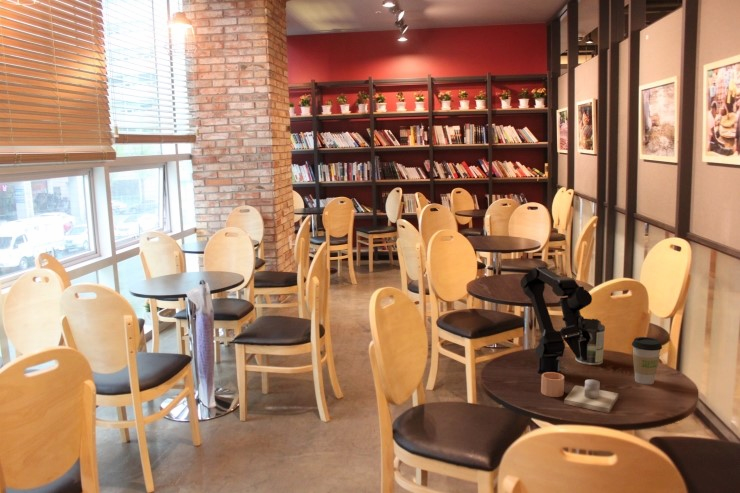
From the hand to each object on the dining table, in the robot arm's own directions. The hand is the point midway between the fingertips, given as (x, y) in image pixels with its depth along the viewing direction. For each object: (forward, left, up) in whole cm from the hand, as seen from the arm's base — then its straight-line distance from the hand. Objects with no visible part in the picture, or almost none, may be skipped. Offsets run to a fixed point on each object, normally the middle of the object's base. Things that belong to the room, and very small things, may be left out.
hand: (582, 359), depth 214 cm
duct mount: (+4, -3, -13) cm, 14 cm away
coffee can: (-6, +36, -13) cm, 39 cm away
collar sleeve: (-9, -3, -13) cm, 16 cm away
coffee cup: (+16, +24, -13) cm, 32 cm away
